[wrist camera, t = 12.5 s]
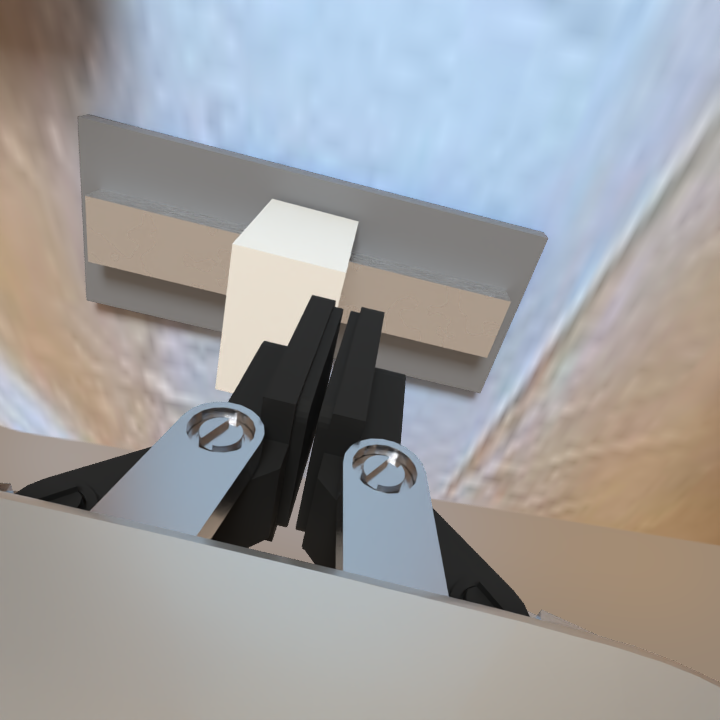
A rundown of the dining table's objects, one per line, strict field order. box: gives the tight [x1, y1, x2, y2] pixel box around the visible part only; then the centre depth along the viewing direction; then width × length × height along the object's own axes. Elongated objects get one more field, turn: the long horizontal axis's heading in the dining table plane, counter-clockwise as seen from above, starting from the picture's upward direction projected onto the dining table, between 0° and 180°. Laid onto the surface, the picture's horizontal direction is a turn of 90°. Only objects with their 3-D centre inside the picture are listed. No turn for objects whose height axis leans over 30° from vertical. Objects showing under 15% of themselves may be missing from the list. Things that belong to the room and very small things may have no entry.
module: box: [215, 199, 359, 393], centre depth 25 cm, size 4×8×7 cm, turn 166°
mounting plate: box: [78, 115, 548, 393], centre depth 28 cm, size 24×10×1 cm, turn 77°
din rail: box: [85, 189, 511, 358], centre depth 27 cm, size 22×4×2 cm, turn 77°
